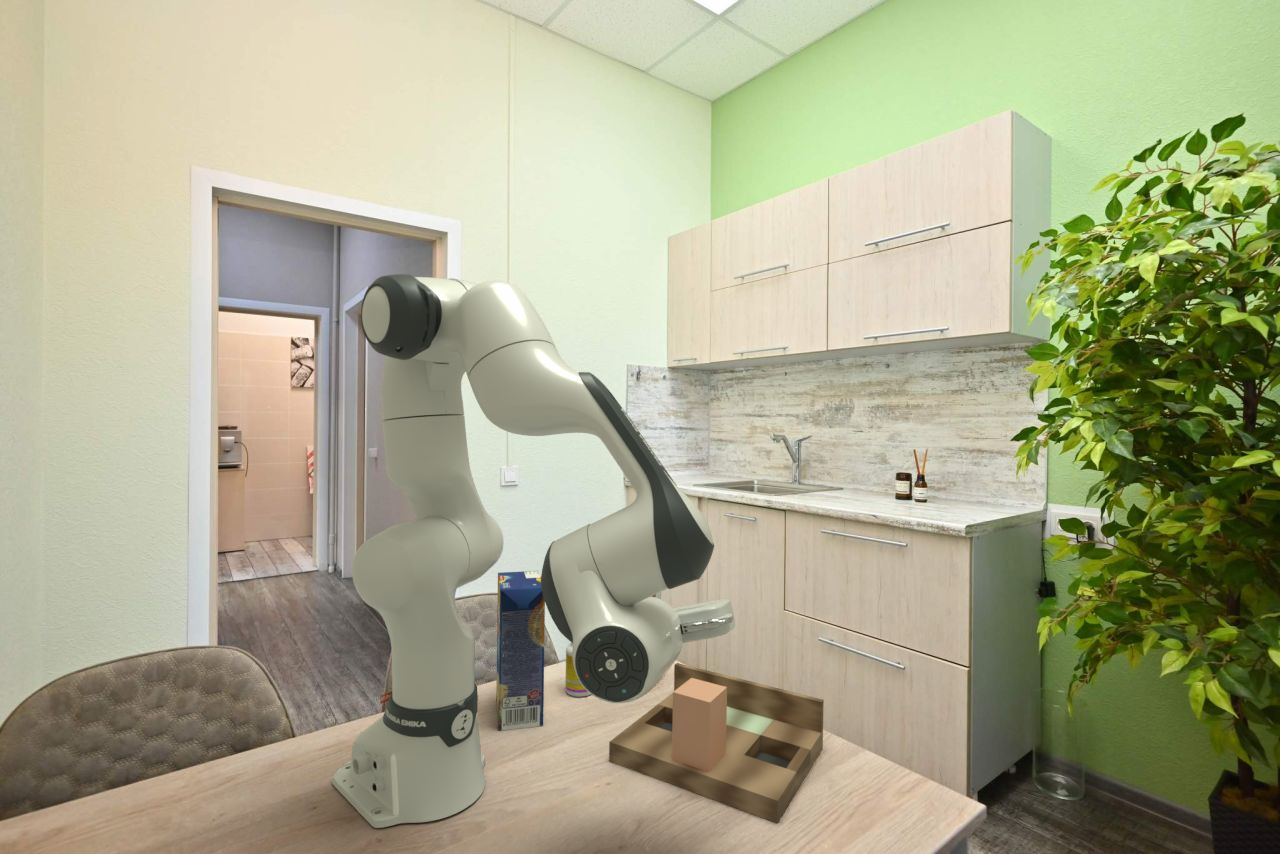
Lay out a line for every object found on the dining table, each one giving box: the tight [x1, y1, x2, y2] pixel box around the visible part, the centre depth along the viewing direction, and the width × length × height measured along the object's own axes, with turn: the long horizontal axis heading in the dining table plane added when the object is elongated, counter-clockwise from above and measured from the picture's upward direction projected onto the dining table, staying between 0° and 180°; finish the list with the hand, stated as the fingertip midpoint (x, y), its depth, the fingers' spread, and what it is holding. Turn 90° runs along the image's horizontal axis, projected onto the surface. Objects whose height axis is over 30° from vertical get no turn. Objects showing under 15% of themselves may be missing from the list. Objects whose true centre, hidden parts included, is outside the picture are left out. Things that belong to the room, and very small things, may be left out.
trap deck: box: [608, 662, 825, 824], centre depth 98 cm, size 27×22×8 cm
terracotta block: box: [672, 678, 727, 772], centre depth 92 cm, size 6×6×10 cm
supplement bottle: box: [564, 642, 592, 698], centre depth 119 cm, size 6×6×11 cm
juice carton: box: [495, 570, 546, 732], centre depth 110 cm, size 12×8×24 cm, turn 15°
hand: (664, 620), depth 85 cm, fingers open, 8 cm apart
